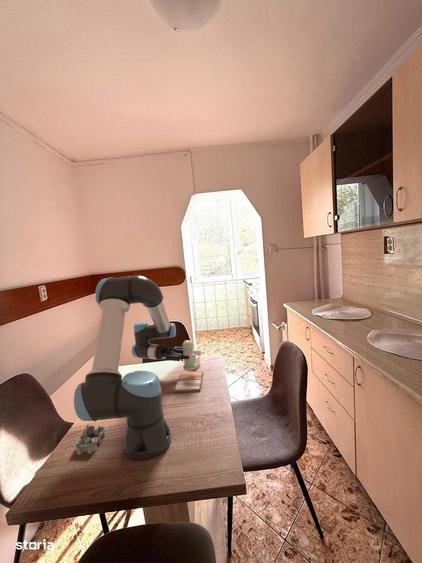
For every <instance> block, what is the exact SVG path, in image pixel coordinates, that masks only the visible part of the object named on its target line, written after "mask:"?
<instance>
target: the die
mask: <svg viewBox="0 0 422 563" xmlns="http://www.w3.org/2000/svg"><path fill="white" fill-rule="evenodd" d="M194 363H195V364H196V369H197V368H198V367H199V366H201V359H200V356H196V360H194Z"/></svg>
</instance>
